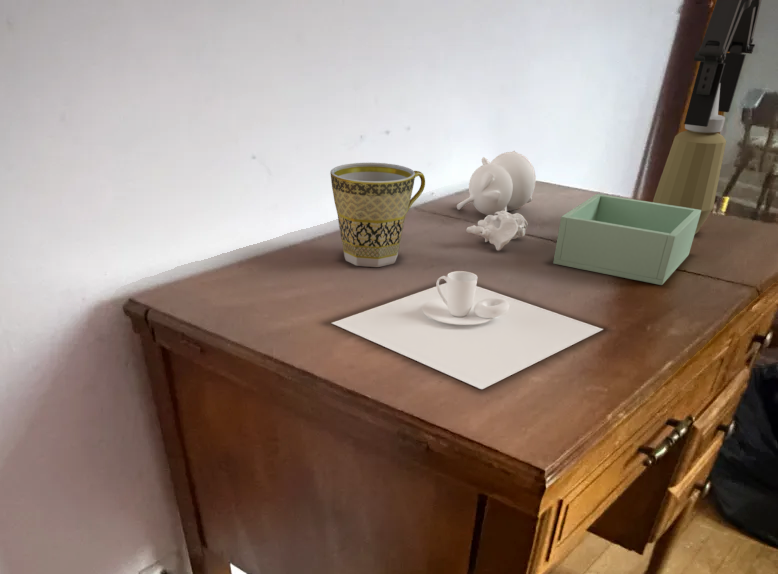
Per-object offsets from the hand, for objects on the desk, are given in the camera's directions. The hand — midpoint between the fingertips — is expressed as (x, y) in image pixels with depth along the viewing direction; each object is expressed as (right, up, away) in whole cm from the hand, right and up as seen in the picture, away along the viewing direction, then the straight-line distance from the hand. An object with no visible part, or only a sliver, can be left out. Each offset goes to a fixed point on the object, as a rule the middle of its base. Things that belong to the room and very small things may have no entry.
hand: (707, 118), depth 94 cm
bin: (-12, -19, -1) cm, 22 cm away
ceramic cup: (-43, -19, -2) cm, 47 cm away
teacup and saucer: (-34, -33, -19) cm, 51 cm away
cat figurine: (-25, -5, +15) cm, 30 cm away
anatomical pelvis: (-27, -15, +3) cm, 31 cm away
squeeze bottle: (0, -11, +9) cm, 14 cm away
